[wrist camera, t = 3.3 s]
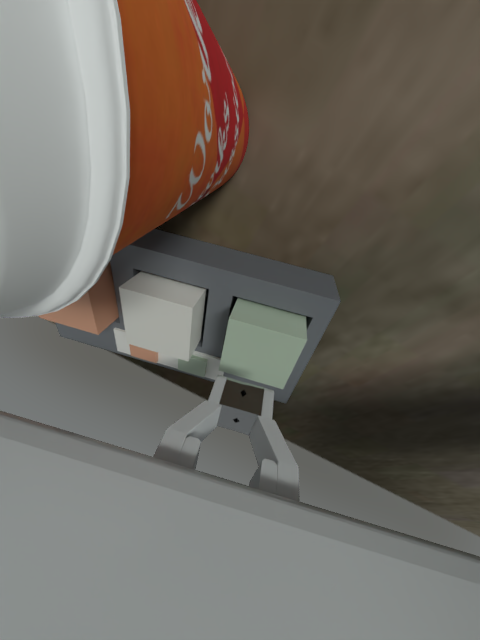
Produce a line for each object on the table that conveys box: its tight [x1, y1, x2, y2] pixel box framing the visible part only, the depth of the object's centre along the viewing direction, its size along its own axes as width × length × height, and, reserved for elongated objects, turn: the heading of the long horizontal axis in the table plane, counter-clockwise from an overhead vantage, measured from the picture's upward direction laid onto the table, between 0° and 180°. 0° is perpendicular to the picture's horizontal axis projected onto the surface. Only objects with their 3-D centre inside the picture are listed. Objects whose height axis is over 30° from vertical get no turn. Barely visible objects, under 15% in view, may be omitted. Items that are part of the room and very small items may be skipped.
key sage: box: [219, 297, 307, 389], centre depth 15 cm, size 4×4×2 cm
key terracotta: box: [39, 262, 119, 335], centre depth 16 cm, size 4×4×2 cm
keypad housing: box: [55, 229, 341, 403], centre depth 18 cm, size 20×10×4 cm, turn 79°
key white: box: [119, 271, 206, 362], centre depth 15 cm, size 4×4×2 cm
